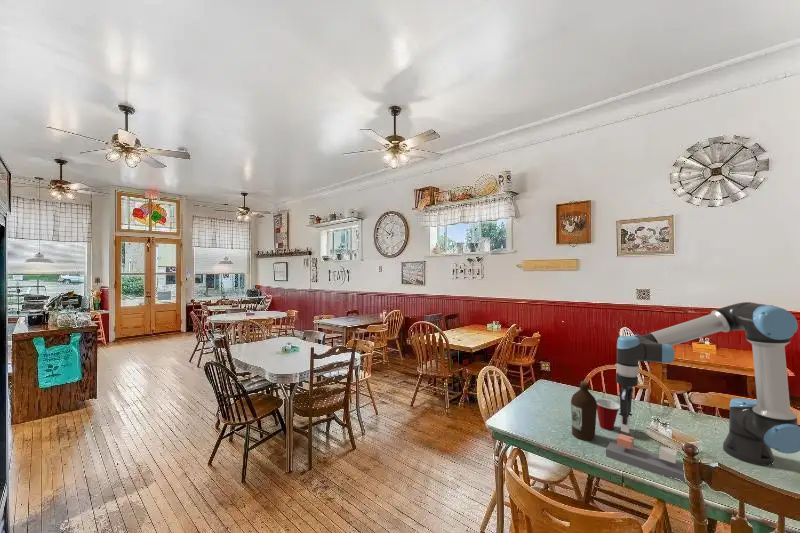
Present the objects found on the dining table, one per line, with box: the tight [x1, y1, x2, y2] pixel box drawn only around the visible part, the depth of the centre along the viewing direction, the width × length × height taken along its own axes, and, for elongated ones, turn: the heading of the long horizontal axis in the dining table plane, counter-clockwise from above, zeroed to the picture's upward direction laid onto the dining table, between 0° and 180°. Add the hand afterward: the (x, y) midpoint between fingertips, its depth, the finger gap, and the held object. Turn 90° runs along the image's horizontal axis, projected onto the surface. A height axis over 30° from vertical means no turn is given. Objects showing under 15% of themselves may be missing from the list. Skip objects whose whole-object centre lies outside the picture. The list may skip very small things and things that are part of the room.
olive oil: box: [570, 380, 598, 442], centre depth 163 cm, size 11×11×25 cm
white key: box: [658, 445, 678, 463], centre depth 136 cm, size 5×5×3 cm
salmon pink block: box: [616, 433, 635, 449], centre depth 145 cm, size 5×5×3 cm
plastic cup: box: [595, 398, 620, 431], centre depth 171 cm, size 11×11×12 cm
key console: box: [605, 439, 686, 484], centre depth 141 cm, size 26×10×3 cm, turn 47°
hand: (625, 431), depth 145 cm, fingers closed
